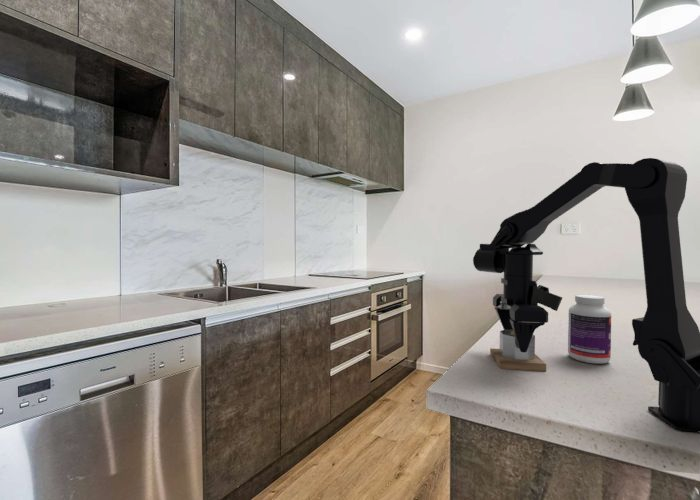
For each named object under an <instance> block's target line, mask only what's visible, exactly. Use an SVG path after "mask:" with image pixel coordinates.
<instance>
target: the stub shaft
mask: <svg viewBox="0 0 700 500" xmlns="http://www.w3.org/2000/svg"><path fill="white" fill-rule="evenodd" d="M511 334H512V335H515V334H514V332H511ZM499 352H500V348H490V350H489V353H490V356H491V358H492V359H493V360H494V362H495V363H496V364H497V366H498V368H499V369H503V370H521V371H522V370H523V371H536V372H537V371H539V372H547V363H546V362H545V361H544V360H543V359H541V358H540V357H539V356H538V355H537V354H536V353H535V359H532V360H530V361H517V360H512V359H508V358H505V357H502V355H501V354H500V353H499Z"/></svg>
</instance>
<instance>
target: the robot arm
mask: <svg viewBox="0 0 700 500" xmlns="http://www.w3.org/2000/svg"><path fill="white" fill-rule="evenodd" d="M687 181H688V174H687V171H686V169H685V168H684V167H683V166H681V165H680V164H678V163H676V162H672V161H667V160H664V159H660V158H654V157H653V158H652V157H647V158H641V159H639V160H637V161H635V162H634V163H621V162H620V163H618V162H617V163H603V162H595V161H594V162H590V163H587V164H585V165H584V166H583V167H582V168H581V170H580V171H579V172H577V173H576V174H574V176H572V177H571V178H569V179H568V180H567V181H565V182H564V183H563V184H561V185H560V186H559V187H558V188H556V189H555V190H553V191H552V192H551V193H550V194H548V195H547V196H545V197H544V198H543V199H542V200H540V201H539V202H538V203H536V204H535V205H534V206H532V207H529V208H528V209H525V210H522V211H519V212H516V213H515V214H513V215H510V216H508V217H506V218H505V219H503V220H502V222H501V223H500V225H499V227H500V228H499V230H498V231H497V232H496V234H495V235H494V238H492V240H491V242H490V243H480V244H479V248H478V249H477V250H476V251H475V254H474V256H473V258H472V262H473V263H472V264H473V266H474V268H475V269H476V271H478V272H483V273H485V272H486V273H494V274H495V273H496V274H502V273H503V277H501V278H500V283H501V284H503V292H502V293H496V294H495V295H494V296H493V297H492V306H493V307H494V311H495V312H496V314H497V315H496V316H498V320H499V322H500V324H501V326H502V330H506V329H509V330H513V331H514V334H515V337H516V340H517V343H518V346H519V349H520V351H521V352H527V349H528V346H529V344H530V341H531V338H532V335H534V333H535V331H536V329H538V328H539V327H541V326H544V325H545V324H546V323H547V324H548V323H549V312H548V311H547V310H546V309H545V308H544V307H547V308H550V309H551V310H552V311H555V312H557V311H558V310H559V307H560V305H561V302H562V300H563V296H559V295H557V294H554V293H551V292H550V288H549V287H547V286H544V285H542V284H538V283H537V282H536V280H534V279H533V274H534V272H533V271H534V269H533V267H534V263H533V262H534V256H542V255H543V254H544V251H542V250H541V248H539V247H537V245H536V244H535V243H534V242H536V241H537V240H538V239H539V238H540V237H541V236H542V235H543V234H544V233H545V231H546V230H547V228H548V226H549V225H550V224H551V223H552V222H554V221H555V220H557V219H558V218H560V217H561V216H562V215H564V214H566V213H567V212H569V210H572V209H573V208H575V207H576V206H577V205H579V204H580V203H582V202H583V201H584V200H586V199H588V198H589V197H590V196H592V195H594V194H595V193H596V192H598V191H599V190H600V189H602V188H604V187H614V188H624V190H625V193H626V196H627V197H626V198H627V199H628V202H629V204H630V205H631V207H632V209H633V210H634V212H635V214H636V216H637V217H638V220H639V229H640V231H639V232H640V239H641V240H640V242H641V250H642V262H643V271H644V272H643V275H644V282H645V283H644V284H645V286H644V287H645V297H646V306H647V307H646V310H645V314H644V316H643V317H638V318H633V319H631V327H632V330H633V334H634V339H633V342H632V346H635V347H636V346H637V349H638V350H637V351H638V354H639V356H640V357H641V359H643V360H644V361H645V362H646V363H647V364H648V367H649V368H650V373H651V374H652V377H653V380H654V381H656V382H658V403H657V405H658V406H652V405H651V406H648V407H647V410H648V411H649V412H651V413H652V414H653V415H655V416H656V417H658V419H661V420H662V421H664V422H665V423H667V424H668V425H669V426H671V427H672V428H674V429H675V430H677V431H682V432H683V431H684V432H685V431H686V432H695V433H700V328H699V326H698V324H697V323H696V321H695V319H694V318H693V316H692V314H691V313H690V311H689V309H688V306H687V298H686V290H685V278H684V277H685V276H684V268H683V257H682V248H681V240H680V239H681V236H680V227H679V218H678V217H679V214H680V211H681V208H682V206H683V203H684V200H685V197H686V193H687V192H686V191H687V183H688V182H687ZM523 246H524V247H523ZM540 305H542V306H540Z"/></svg>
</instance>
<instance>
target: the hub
mask: <svg viewBox="0 0 700 500" xmlns="http://www.w3.org/2000/svg"><path fill="white" fill-rule="evenodd" d="M511 332H514V331H513V330H509V329H506V330H504V329H502V330H500V331H499V349H500V352H499V353H500V354H501V355H502V357H505V358H508V359H512V360H517V361H530V360H532V359H535V354H536V350H535V349H536V335H535V334H533V335H532V338H531V341H530V344H529V346H528V349H527V352H521V351H520V349H519V346H518V343H517V340H516V337H515V335H512V334H511Z"/></svg>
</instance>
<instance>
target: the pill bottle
mask: <svg viewBox="0 0 700 500" xmlns="http://www.w3.org/2000/svg"><path fill="white" fill-rule="evenodd" d="M574 296H575V297H574V301H575V302H576V303H575V304H573V305H570V307H569V308H568V328H567V329H568V335H567V336H568V338H567V339H568V341H567V353H568V356H570V357H571V358H572V359H574V360H577V361H578V362H579V361H580V362H582V363H586V364H600V365H601V364H607V363H609V362H610V361H611V354H612V347H611V346H612V312H611V310H610V309H609V308H607V307H605V306H604V305H605V297H604V296H600V295H594V294H593V295H591V294H576V295H574Z"/></svg>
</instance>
